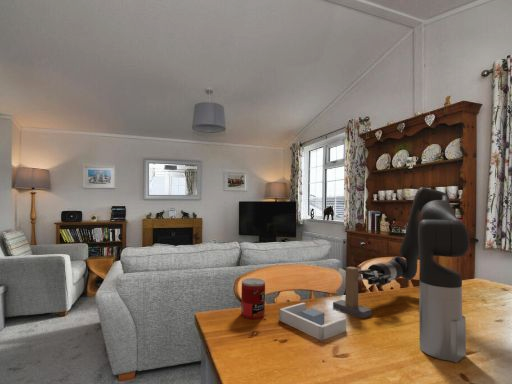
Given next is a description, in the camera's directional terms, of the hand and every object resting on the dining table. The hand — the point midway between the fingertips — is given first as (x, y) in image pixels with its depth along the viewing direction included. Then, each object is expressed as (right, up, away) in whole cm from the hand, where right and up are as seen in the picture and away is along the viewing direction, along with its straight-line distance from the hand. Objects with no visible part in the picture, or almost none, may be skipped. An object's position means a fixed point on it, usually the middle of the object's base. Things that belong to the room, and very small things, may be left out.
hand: (357, 278), depth 104 cm
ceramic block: (-19, -10, -15) cm, 26 cm away
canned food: (-37, -10, -8) cm, 39 cm away
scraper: (-3, -10, -3) cm, 11 cm away
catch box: (-19, -10, -15) cm, 27 cm away
